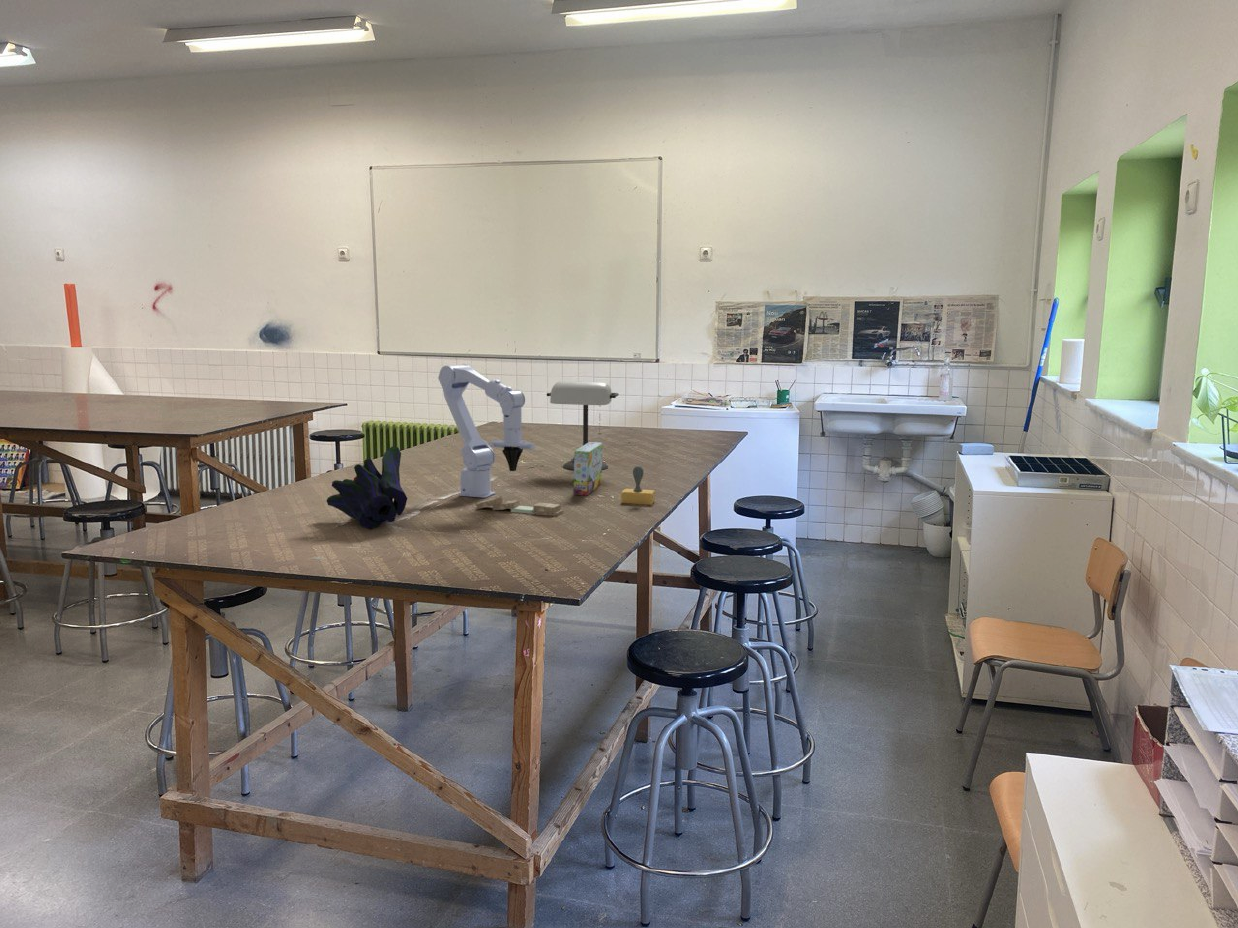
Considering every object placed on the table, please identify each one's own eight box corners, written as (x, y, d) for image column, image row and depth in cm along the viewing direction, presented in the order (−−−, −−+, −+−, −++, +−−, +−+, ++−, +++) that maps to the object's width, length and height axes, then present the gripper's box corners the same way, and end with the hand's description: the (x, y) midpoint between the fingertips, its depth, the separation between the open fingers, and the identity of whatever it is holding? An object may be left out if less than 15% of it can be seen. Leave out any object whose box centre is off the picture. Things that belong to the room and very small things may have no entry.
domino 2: (492, 505, 275) (513, 502, 273) (498, 502, 279) (518, 499, 277) (493, 510, 275) (514, 507, 273) (498, 507, 279) (519, 504, 277)
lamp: (542, 472, 336) (542, 382, 330) (557, 461, 360) (557, 377, 354) (612, 475, 332) (612, 384, 326) (622, 464, 356) (623, 379, 350)
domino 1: (475, 504, 276) (495, 499, 274) (482, 501, 280) (501, 496, 278) (477, 509, 276) (496, 504, 274) (483, 506, 280) (502, 501, 278)
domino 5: (536, 510, 271) (557, 512, 268) (541, 507, 275) (562, 509, 272) (536, 516, 271) (557, 518, 269) (541, 512, 275) (562, 514, 273)
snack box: (589, 496, 297) (589, 451, 294) (572, 495, 298) (572, 450, 295) (602, 483, 317) (603, 441, 315) (587, 482, 319) (587, 441, 316)
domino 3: (510, 508, 273) (531, 510, 271) (517, 505, 277) (537, 507, 275) (510, 513, 274) (531, 515, 271) (517, 510, 278) (537, 512, 275)
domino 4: (533, 505, 271) (553, 507, 268) (540, 502, 275) (560, 504, 272) (533, 510, 271) (553, 512, 268) (540, 507, 275) (560, 509, 272)
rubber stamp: (620, 503, 287) (621, 466, 285) (624, 499, 292) (625, 463, 290) (651, 505, 285) (652, 468, 283) (654, 501, 291) (655, 465, 288)
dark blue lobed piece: (357, 561, 251) (332, 513, 275) (441, 519, 259) (410, 475, 282) (327, 505, 240) (304, 459, 263) (416, 462, 247) (385, 421, 270)
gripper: (486, 428, 283) (486, 471, 285) (528, 431, 278) (528, 474, 280) (496, 426, 289) (496, 467, 292) (537, 428, 285) (537, 470, 287)
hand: (512, 470), depth 286 cm, fingers closed
